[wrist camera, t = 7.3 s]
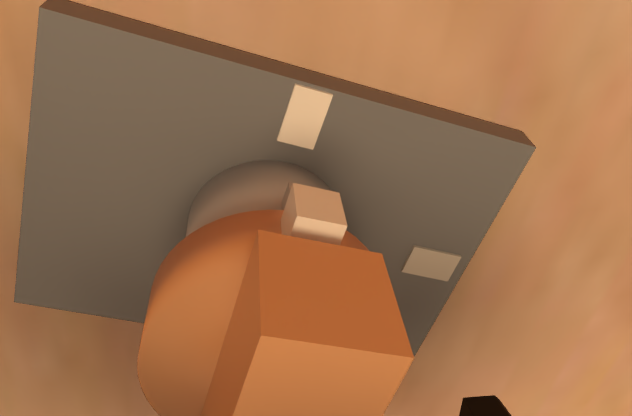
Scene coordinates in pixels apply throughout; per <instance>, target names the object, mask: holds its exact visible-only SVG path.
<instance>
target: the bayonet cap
mask: <svg viewBox="0 0 632 416" xmlns="http://www.w3.org/2000/svg"><path fill="white" fill-rule="evenodd" d="M346 229H347V222H346V217H345V213H344V209H343V205H342V201H341V197H340V193H339V192H334V191H329V190H325V189H320V188H315V187H311V186H306V185H301V184H297V183H293V184H292V187H291V190H290V193H289V196H288V199H287V202H286V205H285V208H284V210H256V211H248V212H243V213H237V214H233V215H230V216H227V217H224V218H220V219H218V220H215V221H213V222H211V223H209V224H206V225H204V226H202V227H201V228H199V229H197V230H196V231H194V232H192V233H191V234H189V235H188V236H187V237H185V238H184V239H183V240H182V241H180V242H179V243H178V244H177V245H176V246H175V247H174V248H173V249H172V250H171V251H170V252H169V253H168V255H167V256H166V258H165V259H164V260H163V262H162V263H161V265H160V267H159V269H158V271H157V273H156V275H155V278H154V281H153V285H152V288H151V293H150V298H149V303H148V308H147V313H146V318H145V323H144V328H143V333H142V338H141V343H140V348H139V353H138V362H137V369H138V378H139V382H140V385H141V389H142V391H143V393H144V395H145V397H146V399H147V400H148V402H149V403H150V405H151V406H152V407H153V409H154V410H155V411H156V412H157V413H158V414H159V415H160V416H383V414H384V412H385V410H386V409H387V407H388V405H389V403H390V401H391V399H392V398H393V396H394V394H395V392H396V390H397V389H398V387H399V385H400V383H401V381H402V380H403V378H404V376H405V374H406V372H407V370H408V369H409V367H410V365H411V363H412V361H413V360H414V356H413V352H412V349H411V346H410V343H409V339H408V336H407V333H406V330H405V326H404V323H403V320H402V317H401V314H400V310H399V307H398V304H397V301H396V297H395V294H394V291H393V288H392V284H391V281H390V278H389V275H388V271H387V268H386V265H385V262H384V259H383V255H382V253H376V252H371V251H369V250H368V249H367V248H366V246H365V245H364V244H363V243H362V242H360V241H359V240H358V239H357V238H356V237H355V236H354V235H352V234H351V233H350V232H348V231H347V230H346Z"/></svg>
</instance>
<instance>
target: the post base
mask: <svg viewBox="0 0 632 416" xmlns="http://www.w3.org/2000/svg"><path fill="white" fill-rule="evenodd" d="M535 149H536V147H535V145H534V144H533V143H532V142H531V141H530V140H529V139H528V137H527V136H526V135H525V134H524V133H523V132H522V131H519V130H515V129H512V128H508V127H505V126H501V125H498V124H494V123H491V122H488V121H484V120H481V119H477V118H474V117H470V116H467V115H463V114H460V113H456V112H453V111H449V110H446V109H442V108H439V107H436V106H432V105H429V104H425V103H422V102H418V101H415V100H411V99H408V98H404V97H401V96H397V95H394V94H390V93H387V92H383V91H380V90H377V89H373V88H370V87H366V86H363V85H359V84H356V83H352V82H349V81H345V80H342V79H338V78H335V77H331V76H328V75H324V74H321V73H318V72H314V71H311V70H307V69H304V68H300V67H297V66H293V65H290V64H286V63H283V62H279V61H276V60H272V59H269V58H266V57H262V56H259V55H255V54H252V53H248V52H245V51H241V50H238V49H234V48H231V47H227V46H224V45H220V44H217V43H213V42H210V41H207V40H203V39H200V38H196V37H193V36H189V35H186V34H182V33H179V32H175V31H172V30H168V29H165V28H161V27H158V26H154V25H151V24H148V23H144V22H141V21H137V20H134V19H130V18H127V17H123V16H120V15H116V14H113V13H109V12H106V11H102V10H99V9H96V8H92V7H89V6H85V5H82V4H78V3H75V2H71V1H68V0H47V1H46V2H44V3H43V4H42V5H41V6H40V7H39V18H38V29H37V41H36V52H35V64H34V76H33V87H32V99H31V111H30V122H29V134H28V145H27V157H26V169H25V180H24V192H23V204H22V215H21V227H20V238H19V250H18V262H17V273H16V285H15V297H14V302H16V303H22V304H29V305H35V306H41V307H47V308H53V309H59V310H66V311H72V312H78V313H84V314H90V315H96V316H102V317H109V318H115V319H121V320H127V321H133V322H139V323H145V318H146V313H147V308H148V303H149V298H150V293H151V288H152V285H153V281H154V278H155V275H156V273H157V271H158V269H159V267H160V265H161V263H162V262H163V260H164V259H165V258H166V256H167V255H168V253H169V252H170V251H171V250H172V249H173V248H174V247H175V246H176V245H177V244H178V243H179V242H180V241H182V240H183V239H184V238H185V237H187V236H188V235H189V234H191V233H192V232H194V231H196V230H197V229H199V228H201V227H202V226H204V225H206V224H209V223H211V222H213V221H215V220H218V219H220V218H224V217H227V216H230V215H233V214H237V213H243V212H248V211H256V210H284V208H285V205H286V202H287V199H288V196H289V193H290V190H291V187H292V184H293V183H297V184H301V185H306V186H311V187H315V188H320V189H325V190H329V191H334V192H339V193H340V197H341V201H342V205H343V209H344V213H345V217H346V222H347V229H346V230H347V231H348V232H350V233H351V234H352V235H354V236H355V237H356V238H357V239H358V240H359V241H360V242H362V243H363V244H364V245H365V246H366V248H367V249H368V250H369V251H371V252H376V253H382V255H383V259H384V262H385V265H386V268H387V271H388V275H389V278H390V281H391V284H392V288H393V291H394V294H395V297H396V301H397V304H398V307H399V310H400V314H401V317H402V320H403V323H404V326H405V330H406V333H407V336H408V339H409V343H410V346H411V349H412V352H413V356H415V354H416V353H417V351H418V349H419V348H420V346H421V344H422V342H423V341H424V339H425V337H426V336H427V334H428V332H429V330H430V329H431V327H432V325H433V324H434V322H435V320H436V318H437V317H438V315H439V313H440V312H441V310H442V308H443V306H444V305H445V303H446V301H447V300H448V298H449V296H450V294H451V293H452V291H453V289H454V288H455V286H456V284H457V282H458V281H459V279H460V277H461V275H462V274H463V272H464V270H465V269H466V267H467V265H468V263H469V262H470V260H471V258H472V257H473V255H474V253H475V251H476V250H477V248H478V246H479V245H480V243H481V241H482V239H483V238H484V236H485V234H486V233H487V231H488V229H489V227H490V226H491V224H492V222H493V221H494V219H495V217H496V215H497V214H498V212H499V210H500V209H501V207H502V205H503V203H504V202H505V200H506V198H507V197H508V195H509V193H510V191H511V190H512V188H513V186H514V185H515V183H516V181H517V179H518V178H519V176H520V174H521V173H522V171H523V169H524V167H525V166H526V164H527V162H528V161H529V159H530V157H531V155H532V154H533V152H534V150H535Z"/></svg>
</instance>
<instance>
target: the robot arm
mask: <svg viewBox="0 0 632 416" xmlns="http://www.w3.org/2000/svg"><path fill="white" fill-rule="evenodd" d="M459 416H511V414H510V413H509V412H508V410H507V409H506V408H505V406H504V405H503V404H502V402H501V401H500V400H499V399H498V398H497V397H496V396H495V395H493V396H480V397H467V398H463V401H462V405H461V410H460V414H459Z"/></svg>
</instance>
